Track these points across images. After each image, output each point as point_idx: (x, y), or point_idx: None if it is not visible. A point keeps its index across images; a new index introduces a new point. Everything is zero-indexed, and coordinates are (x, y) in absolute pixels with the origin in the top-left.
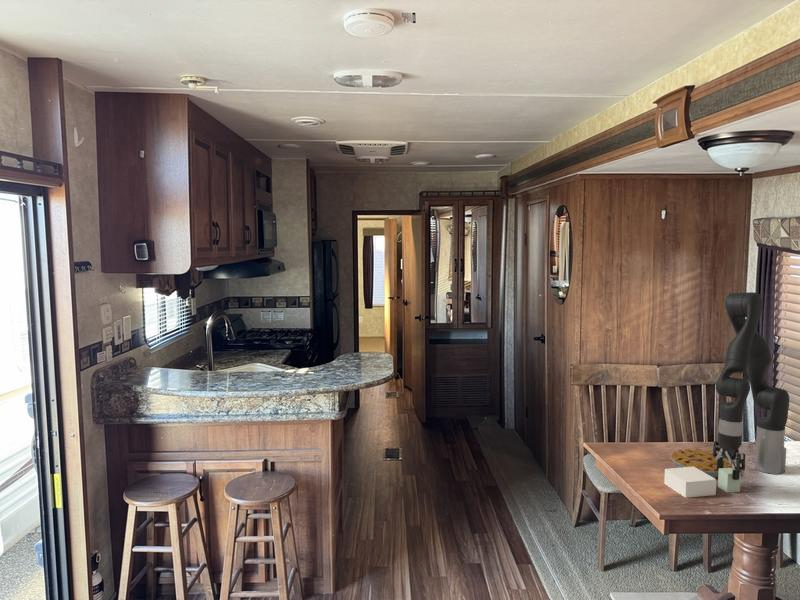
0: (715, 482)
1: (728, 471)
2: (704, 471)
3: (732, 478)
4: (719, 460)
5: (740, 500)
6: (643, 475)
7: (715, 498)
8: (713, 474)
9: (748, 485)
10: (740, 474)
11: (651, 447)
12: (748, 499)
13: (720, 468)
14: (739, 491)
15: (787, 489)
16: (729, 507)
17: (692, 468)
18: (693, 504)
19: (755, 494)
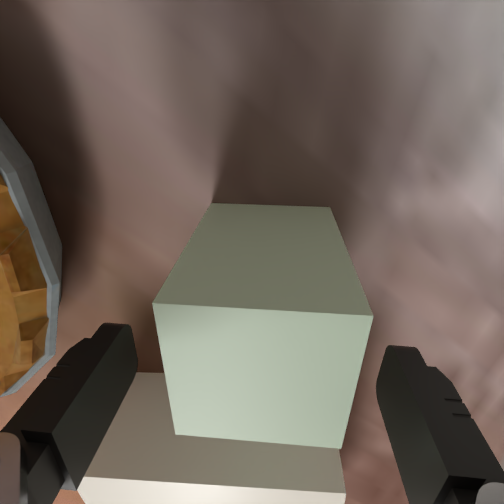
0: (341, 469)
1: (276, 407)
2: (53, 344)
3: (383, 400)
4: (57, 483)
5: (454, 303)
6: (76, 494)
7: (369, 403)
8: (54, 262)
9: (219, 7)
10: (367, 307)
11: None
12: (470, 241)
13: (176, 421)
14: (329, 211)
15: None
16: (492, 409)
17: (113, 498)
18: (387, 498)
19: (423, 105)
